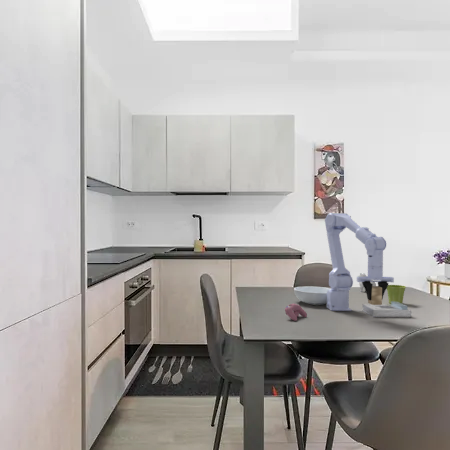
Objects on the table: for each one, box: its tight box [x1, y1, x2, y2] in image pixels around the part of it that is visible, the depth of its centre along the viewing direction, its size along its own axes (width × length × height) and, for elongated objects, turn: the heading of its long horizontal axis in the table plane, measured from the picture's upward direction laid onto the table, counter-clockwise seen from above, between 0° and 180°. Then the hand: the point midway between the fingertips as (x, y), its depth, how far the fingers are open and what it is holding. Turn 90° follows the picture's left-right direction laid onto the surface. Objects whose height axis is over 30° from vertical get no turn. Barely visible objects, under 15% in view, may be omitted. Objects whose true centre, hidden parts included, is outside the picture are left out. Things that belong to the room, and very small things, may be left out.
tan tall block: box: [367, 285, 383, 305], centre depth 158 cm, size 4×4×7 cm
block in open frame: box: [361, 301, 412, 318], centre depth 168 cm, size 16×12×4 cm
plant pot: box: [386, 284, 407, 304], centre depth 191 cm, size 9×9×9 cm
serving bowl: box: [293, 285, 332, 306], centre depth 191 cm, size 21×21×7 cm
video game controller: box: [284, 303, 308, 322], centre depth 159 cm, size 10×5×7 cm, turn 141°
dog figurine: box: [356, 273, 377, 293], centre depth 225 cm, size 5×13×11 cm, turn 23°
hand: (374, 299), depth 158 cm, fingers closed on tan tall block, 4 cm apart
